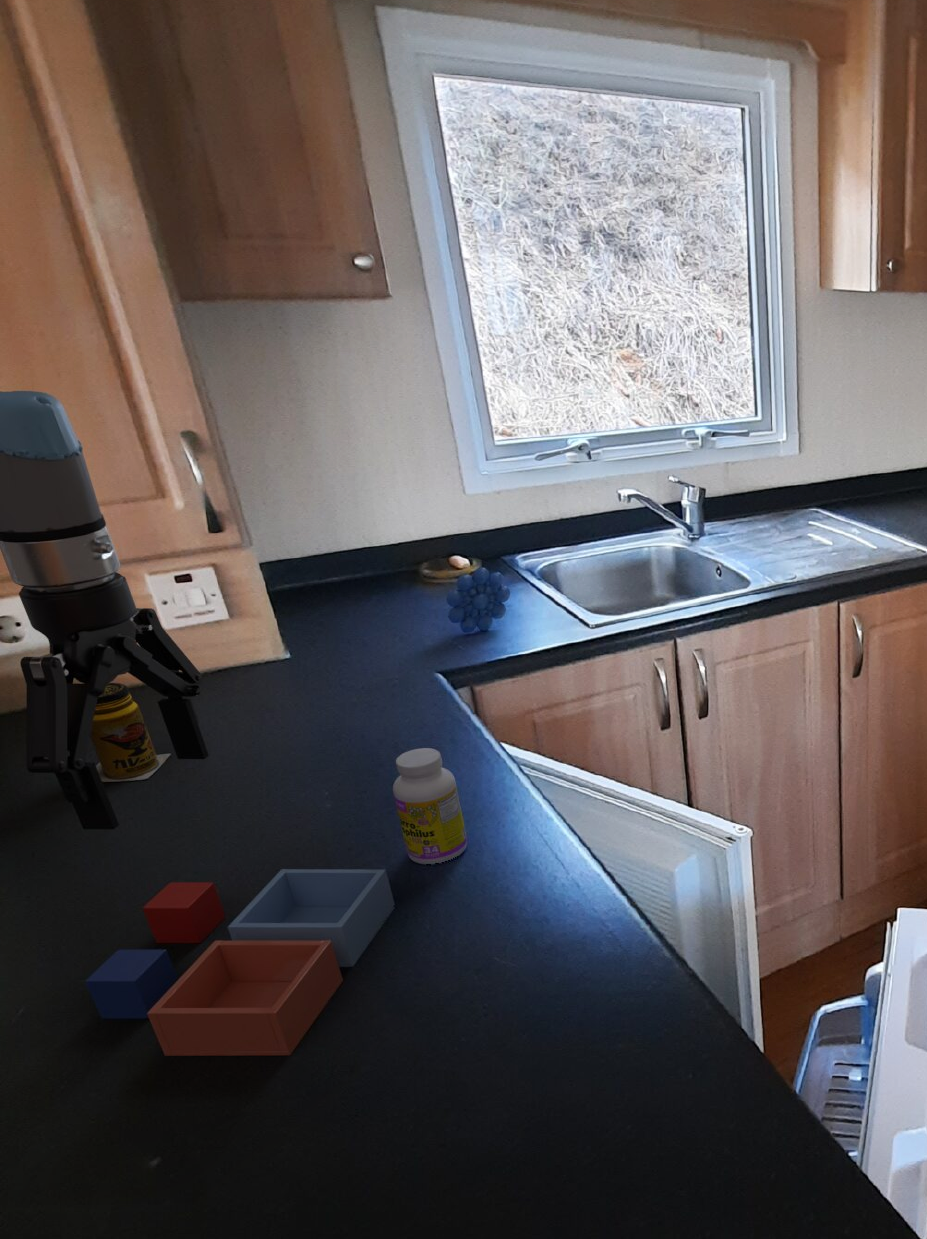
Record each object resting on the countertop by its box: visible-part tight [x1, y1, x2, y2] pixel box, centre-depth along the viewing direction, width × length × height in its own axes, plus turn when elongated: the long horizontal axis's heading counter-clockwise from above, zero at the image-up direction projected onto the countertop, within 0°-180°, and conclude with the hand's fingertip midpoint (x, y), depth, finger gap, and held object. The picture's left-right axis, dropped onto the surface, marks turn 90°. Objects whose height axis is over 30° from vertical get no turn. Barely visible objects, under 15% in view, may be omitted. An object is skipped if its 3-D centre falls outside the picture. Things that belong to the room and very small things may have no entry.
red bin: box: [147, 939, 344, 1057], centre depth 90 cm, size 11×10×5 cm
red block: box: [142, 881, 227, 944], centre depth 101 cm, size 4×4×4 cm
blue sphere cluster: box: [446, 567, 511, 633], centre depth 180 cm, size 12×7×12 cm, turn 128°
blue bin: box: [227, 868, 396, 968], centre depth 100 cm, size 11×10×5 cm
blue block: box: [84, 949, 179, 1019], centre depth 91 cm, size 4×4×4 cm
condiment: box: [90, 682, 172, 783], centre depth 130 cm, size 7×8×12 cm
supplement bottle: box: [392, 747, 468, 866], centre depth 113 cm, size 7×7×13 cm
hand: (150, 790), depth 94 cm, fingers open, 13 cm apart
